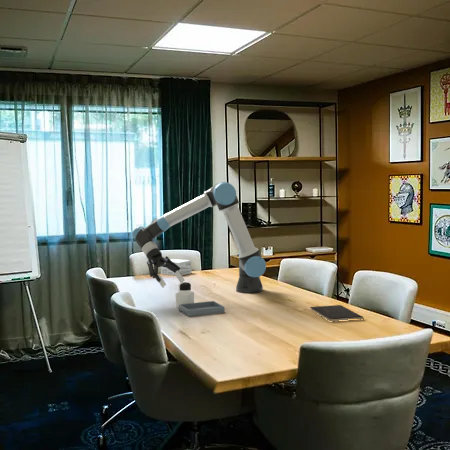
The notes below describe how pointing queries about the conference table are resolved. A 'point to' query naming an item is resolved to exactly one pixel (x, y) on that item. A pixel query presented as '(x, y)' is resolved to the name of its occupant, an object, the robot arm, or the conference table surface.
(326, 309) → the hardcover book
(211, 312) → the tray
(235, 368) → the conference table surface
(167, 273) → the supplement box
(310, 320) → the conference table surface
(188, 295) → the medicine bottle
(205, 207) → the robot arm
